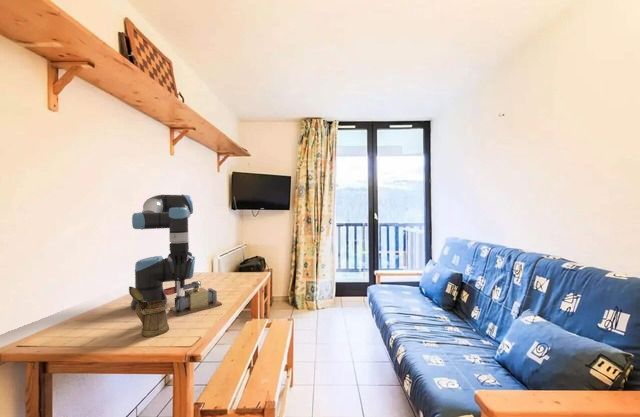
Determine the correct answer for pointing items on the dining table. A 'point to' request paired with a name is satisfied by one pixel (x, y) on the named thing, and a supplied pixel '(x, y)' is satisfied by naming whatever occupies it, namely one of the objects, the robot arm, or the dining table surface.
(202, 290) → the valve body
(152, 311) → the wooden mug
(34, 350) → the dining table surface
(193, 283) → the lever
